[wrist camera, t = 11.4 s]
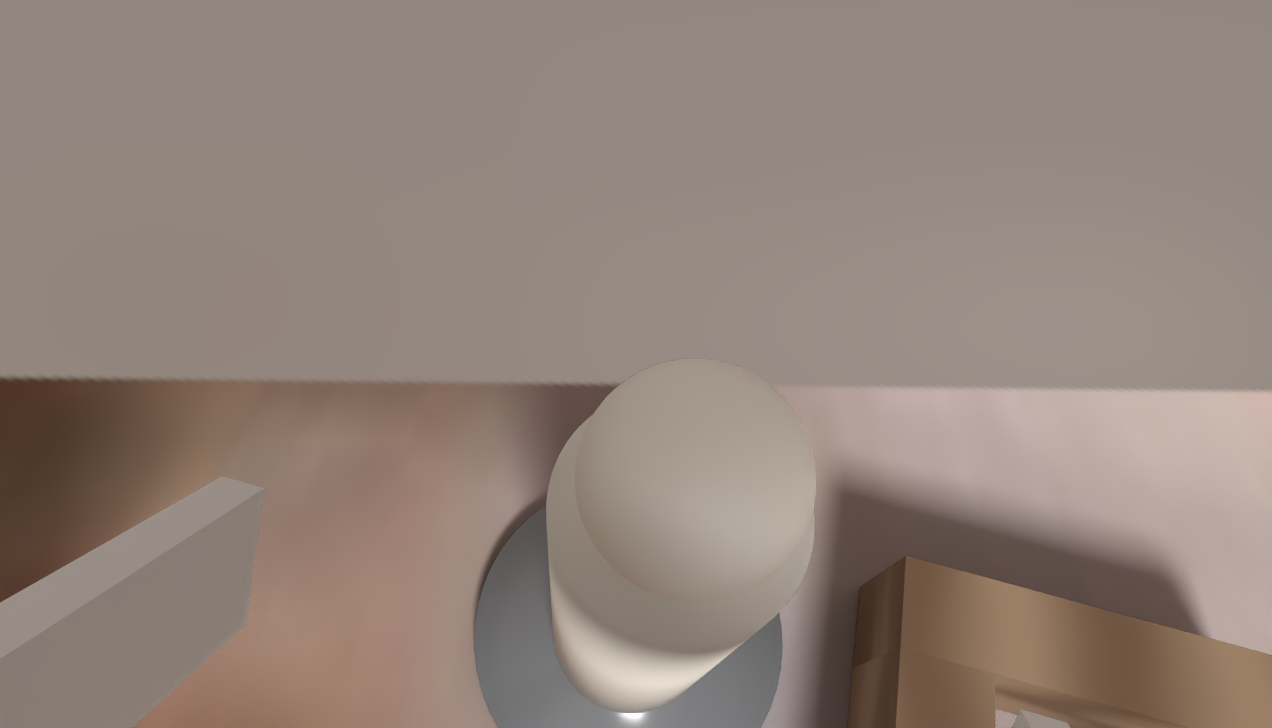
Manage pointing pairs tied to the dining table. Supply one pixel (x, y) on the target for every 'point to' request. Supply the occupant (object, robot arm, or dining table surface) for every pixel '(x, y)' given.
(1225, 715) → the walnut holder
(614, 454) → the pepper mill
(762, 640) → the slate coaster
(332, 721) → the dining table surface
